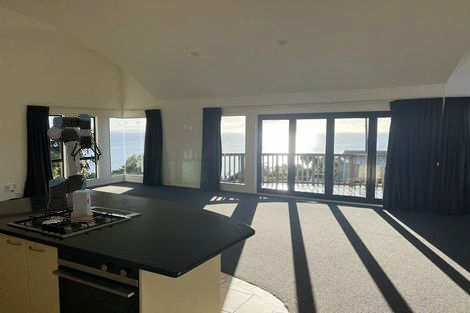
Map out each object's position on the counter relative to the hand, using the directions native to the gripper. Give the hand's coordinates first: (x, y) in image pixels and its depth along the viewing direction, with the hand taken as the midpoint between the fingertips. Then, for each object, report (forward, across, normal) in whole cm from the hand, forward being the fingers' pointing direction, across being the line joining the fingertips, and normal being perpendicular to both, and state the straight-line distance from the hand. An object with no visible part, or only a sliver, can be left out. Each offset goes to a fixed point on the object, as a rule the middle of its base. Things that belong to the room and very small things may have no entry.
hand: (86, 165), depth 241 cm
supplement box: (+30, -2, -20) cm, 36 cm away
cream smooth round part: (+35, -20, -22) cm, 46 cm away
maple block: (+35, -2, -20) cm, 41 cm away
